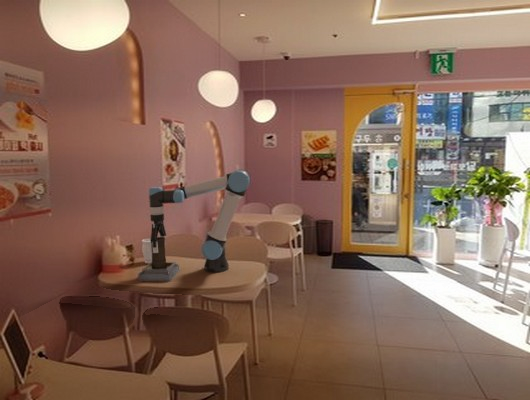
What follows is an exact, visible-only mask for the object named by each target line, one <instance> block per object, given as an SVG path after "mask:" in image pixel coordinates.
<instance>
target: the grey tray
mask: <svg viewBox="0 0 530 400" xmlns="http://www.w3.org/2000/svg"><path fill="white" fill-rule="evenodd" d="M166 263H167V269H152V262H151V263H147V265H146V266H145V267H143V268H142V270H141V271H140V272H139V273H138V275H137V276H138V279H137V281H138V282H171V281H172V279H173V278H174V277H175V276H176V275H177V274H178V273H179V272H180V264H179V263H176V262H174V261H173V262H171V261H166Z"/></svg>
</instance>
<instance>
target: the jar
mask: <svg viewBox="0 0 530 400" xmlns="http://www.w3.org/2000/svg"><path fill="white" fill-rule="evenodd" d="M150 240H151V237H150V238H143V239H142V240H141V243H142V245H141V251H142V255H143V258H144V263H145V264H149V263H151V262H152V247H151V241H150Z"/></svg>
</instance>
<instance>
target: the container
mask: <svg viewBox="0 0 530 400" xmlns="http://www.w3.org/2000/svg"><path fill="white" fill-rule="evenodd" d="M150 241H151V240H150ZM157 243H158V253H153V245H152V242H151V247H152V269H167V263H166V262H167V257H166V237H165V238H164V237H160V236H157Z"/></svg>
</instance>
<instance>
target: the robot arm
mask: <svg viewBox="0 0 530 400" xmlns="http://www.w3.org/2000/svg"><path fill="white" fill-rule="evenodd" d="M250 184H251V175H250V174H249V172H248V171H246V170H244V169H237V170H234V171H233V172H229V173H225V175H224V176H220V177H217V178H212V179H208V180H204V181H201V182H195V183H192V184H189V185H185V186H181V187H179V186H178V187H175V188H174V189H170V190H169V189H168V190H164V189H163V187H162V186H152V187H149V188H148V200H149V213H150V216H149V217H150V222H152V223H151V233H150V234H151V235H150V238H151V242H152V245H153V253H158V243H157V237H164V238H165V239H166V236H167V233H166V227H165V223H164V220H165V214H164V213H165V212H164V211H165V210H164V204H182V203H184V201H185V200H187V199H191V198H193V197H194V198H195V197H198V196H202V195H206V194H211V193H216V192H219V191H222V190H225V196H224V198H223V201H222V204H221V206H220V209H219V211H218V213H217V216H216V219H215V221H214V223H213V227H212V229H211V230H210V231H208V232H206V235H205V240H204V242H203V244H202V246H201V254H202V255H203V257H204V258H205V262H204V264H203V270H204V271H206V272H209V273H219V272H220V273H221V272H224V271H227V270H229V268H230V267H229V261H228V259H227V256H226V254H227V253H226V243H227V240H228V238H227V233H228V231H229V229H230V226H231V224H232V221H233V218H234V216H235V214H236V211H237V210H238V209H237V208H238V206H239V203H240V201H241V199H242V198H244V197H245V196H246V192H247V190H248V188H249V186H250ZM158 235H160V236H158Z"/></svg>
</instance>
